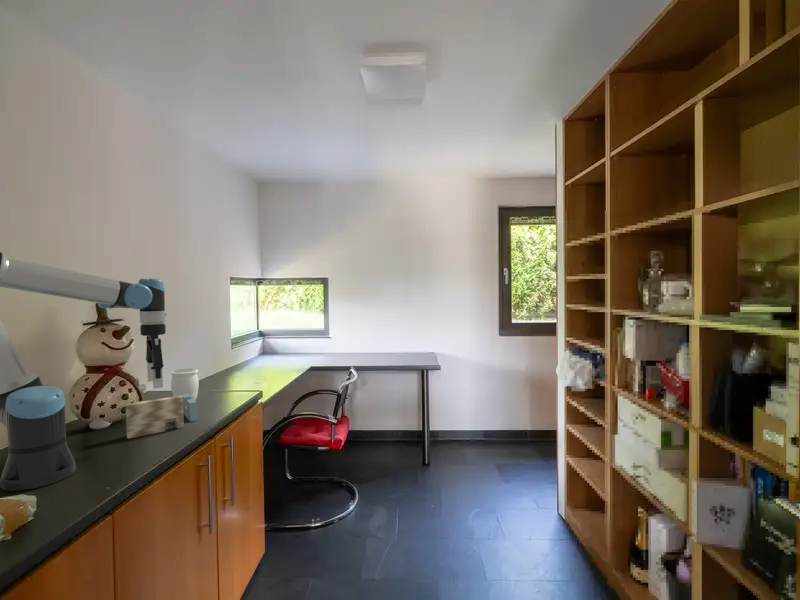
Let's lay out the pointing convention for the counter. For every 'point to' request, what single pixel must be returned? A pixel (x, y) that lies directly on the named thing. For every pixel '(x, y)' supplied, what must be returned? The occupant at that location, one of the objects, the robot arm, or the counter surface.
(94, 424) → the beverage can
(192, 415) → the blue board
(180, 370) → the jar
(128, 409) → the birch plate
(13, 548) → the counter surface
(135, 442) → the counter surface
